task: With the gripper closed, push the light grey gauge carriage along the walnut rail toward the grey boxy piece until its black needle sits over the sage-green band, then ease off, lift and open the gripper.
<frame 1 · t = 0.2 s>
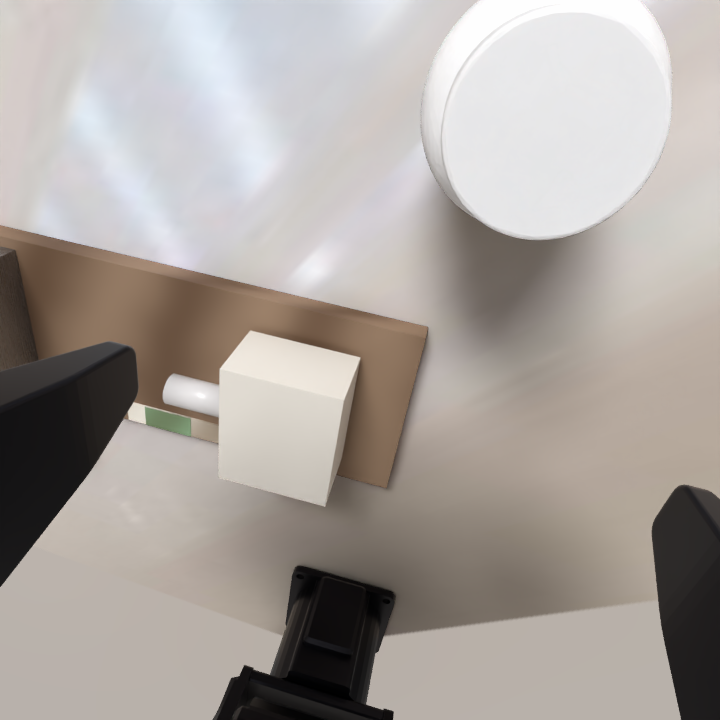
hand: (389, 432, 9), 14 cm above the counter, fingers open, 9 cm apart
grey boxy piece: (18, 310, 27), resting on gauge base
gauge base: (190, 353, 26), on the counter
supplement bottle: (521, 88, 18), on the counter
gauge carriage: (254, 427, 24), point 3 cm above the counter, slide at 0.0 cm
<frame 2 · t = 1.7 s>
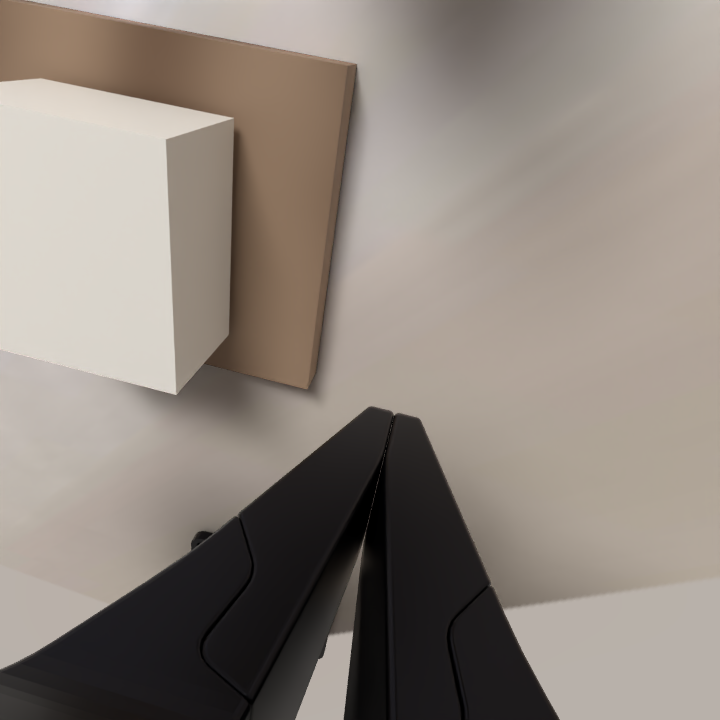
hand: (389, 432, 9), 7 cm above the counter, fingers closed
gauge carriage: (59, 261, 14), point 3 cm above the counter, slide at 0.0 cm
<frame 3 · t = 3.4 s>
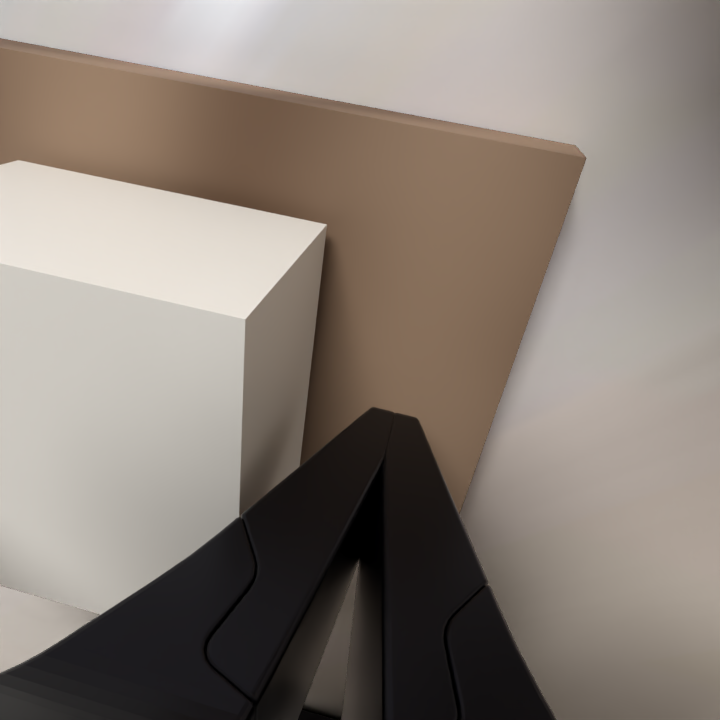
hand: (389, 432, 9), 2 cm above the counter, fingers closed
gauge carriage: (49, 433, 9), point 3 cm above the counter, slide at 0.8 cm, touching gripper
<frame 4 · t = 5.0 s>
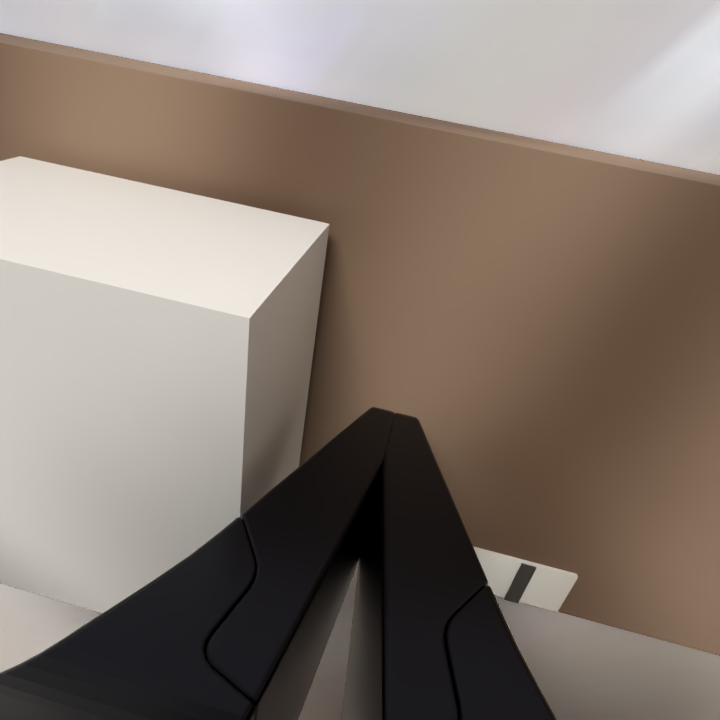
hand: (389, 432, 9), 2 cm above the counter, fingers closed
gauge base: (277, 339, 11), on the counter
gauge carriage: (49, 430, 9), point 3 cm above the counter, slide at 7.5 cm, touching gripper
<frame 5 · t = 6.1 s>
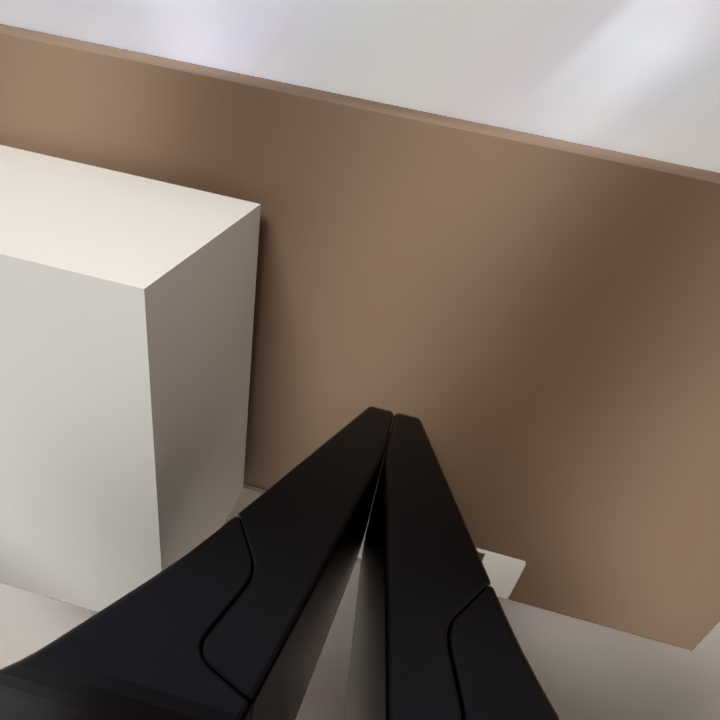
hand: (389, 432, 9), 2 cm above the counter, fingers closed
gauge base: (227, 324, 11), on the counter
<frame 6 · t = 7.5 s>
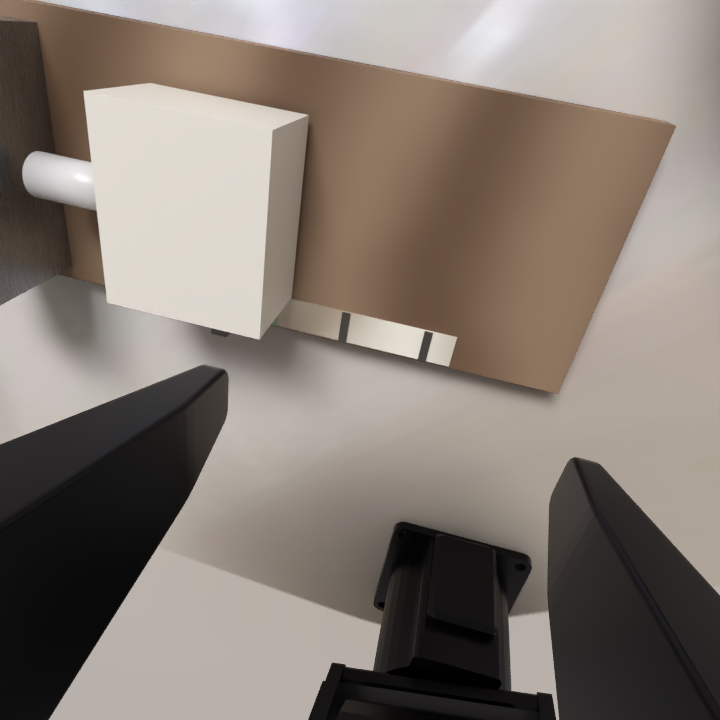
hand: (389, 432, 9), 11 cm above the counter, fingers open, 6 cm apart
grey boxy piece: (37, 144, 19), resting on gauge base
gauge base: (282, 198, 18), on the counter
gauge carriage: (160, 232, 17), point 3 cm above the counter, slide at 7.5 cm
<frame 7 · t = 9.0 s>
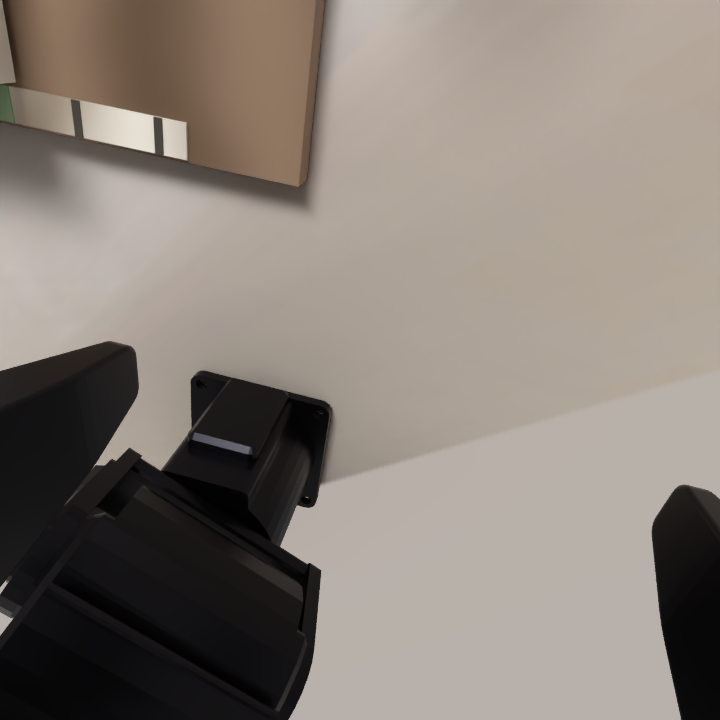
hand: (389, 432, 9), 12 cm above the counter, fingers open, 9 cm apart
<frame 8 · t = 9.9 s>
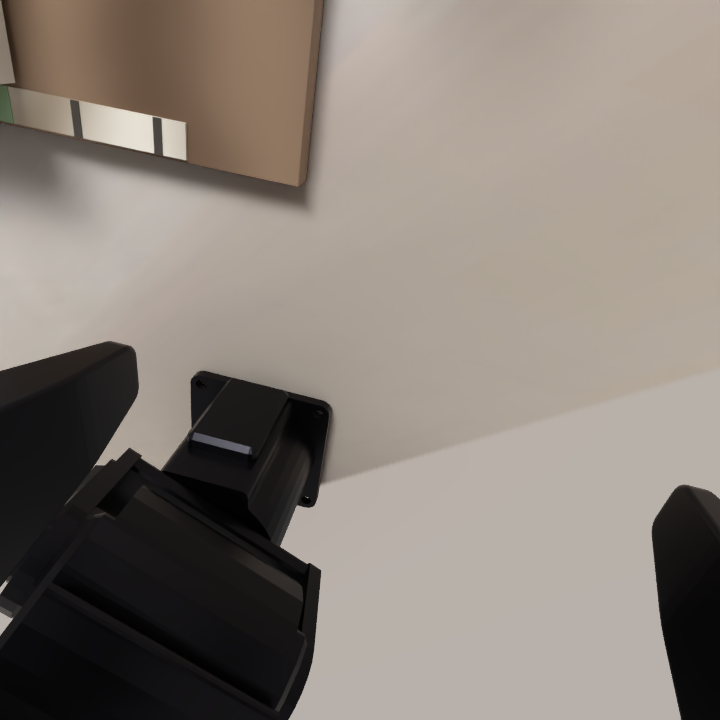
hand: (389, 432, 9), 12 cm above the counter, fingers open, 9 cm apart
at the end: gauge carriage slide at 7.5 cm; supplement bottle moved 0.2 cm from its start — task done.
